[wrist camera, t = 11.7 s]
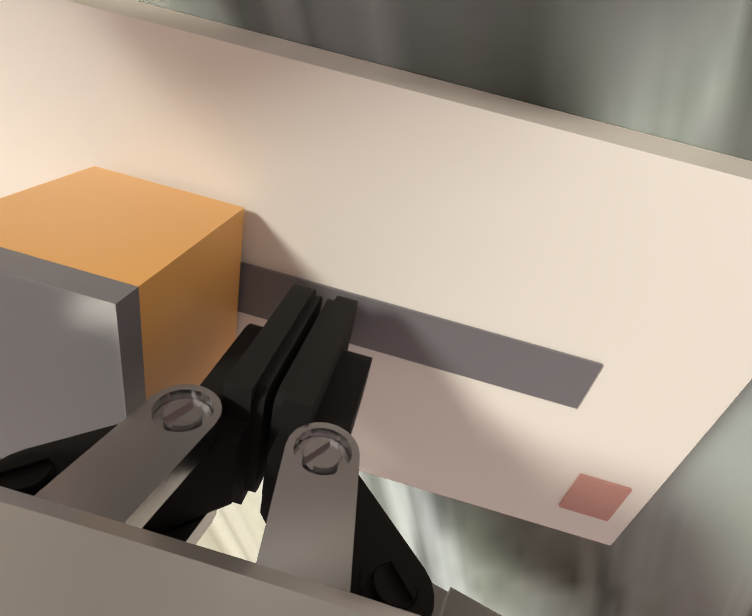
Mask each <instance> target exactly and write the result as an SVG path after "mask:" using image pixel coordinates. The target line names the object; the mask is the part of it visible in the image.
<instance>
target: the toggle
mask: <svg viewBox="0 0 752 616" xmlns="http://www.w3.org/2000/svg"><path fill="white" fill-rule="evenodd" d="M243 220H244V207H241V206H237V205H233V204H230V203H226V202H223V201H219V200H215V199H212V198H208V197H205V196H201V195H197V194H194V193H190V192H187V191H183V190H179V189H176V188H172V187H169V186H165V185H161V184H158V183H154V182H151V181H147V180H143V179H140V178H136V177H133V176H129V175H125V174H122V173H118V172H114V171H111V170H107V169H104V168H100V167H96V166H93V167H90V168H87V169H84V170H81V171H78V172H75V173H72V174H69V175H66V176H64V177H61V178H58V179H55V180H52V181H49V182H46V183H43V184H40V185H37V186H34V187H31V188H28V189H26V190H23V191H20V192H17V193H14V194H11V195H8V196H5V197H2V198H0V457H3V458H5V457H6V456H8V455H10V454H13V453H15V452H18V451H21V450H24V449H27V448H31V447H34V446H38V445H42V444H45V443H49V442H53V441H56V440H60V439H64V438H68V437H71V436H75V435H79V434H82V433H86V432H90V431H93V430H97V429H101V428H104V427H108V426H112V425H116V424H119V423H120V422H122V421H123V420H124V419H125V418H126V417H127V416H129V415H130V414H131V413H132V412H133V411H135V410H136V409H137V408H138V407H139V406H140V405H142V404H143V403H144V402H145V401H146V400H148V399H149V398H150V397H151V396H152V395H154V394H156V393H157V392H159V391H160V390H162V389H165V388H168V387H170V386H175V385H182V384H191V385H198V386H200V384H201V383H202V382H203V381H204V379H205V378H206V377H207V375H208V374H209V373H210V372H211V370H212V369H213V368H214V366H215V365H216V364H217V363H218V361H219V360H220V359H221V357H222V356H223V355H224V354H225V352H226V351H227V350H228V348H229V347H230V346H231V345H232V343H233V342H234V341H235V338H236V324H237V309H238V294H239V279H240V264H241V250H242V235H243Z"/></svg>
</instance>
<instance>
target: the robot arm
mask: <svg viewBox="0 0 752 616" xmlns="http://www.w3.org/2000/svg"><path fill="white" fill-rule="evenodd" d="M321 305H322V297H321V296H317V295H316V289H313V288H309V287H306V286H302V285H298V284H294V285H293V286H292V287H291V289H290V290H289V291H288V293H287V294H286V296H285V297H284V298H283V300H282V301H281V303H280V304H279V305H278V307H277V308H276V310H275V311H274V312H273V314H272V315H271V317H270V318H269V319H268V321H267V322H266V324H265V325H264V326H263V327H262V326H259V325H255V324H251V323H250V324H248V325H247V326H246V327H245V328H244V329H243V330H242V332H241V333H240V334H239V336H238V337H237V338H236V339H235V341H234V342H233V343H232V345H231V346H230V347H229V348H228V350H227V351H226V352H225V354H224V355H223V356H222V357H221V359H220V360H219V361H218V363H217V364H216V365H215V366H214V368H213V369H212V370H211V372H210V373H209V374H208V375H207V377H206V378H205V379H204V381H203V382H202V383H201V384H200V386H198V385H191V384H182V385H175V386H170V387H168V388H165V389H162V390H160V391H159V392H157V393H156V394H154V395H152V396H151V397H150V398H149V399H148V400H146V401H145V402H144V403H143V404H142V405H140V406H139V407H138V408H137V409H136V410H135V411H133V412H132V413H131V414H130V415H129V416H127V417H126V418H125V419H124V420H123V421H122V422H120V423H119V424H116V425H112V426H108V427H104V428H101V429H97V430H93V431H90V432H86V433H82V434H79V435H75V436H71V437H68V438H64V439H60V440H56V441H53V442H49V443H45V444H42V445H38V446H34V447H31V448H27V449H24V450H21V451H18V452H15V453H13V454H10V455H8V456H6V457H5V458H3V457H0V616H501V615H499V614H498V613H496V612H494V611H492V610H491V609H489V608H487V607H485V606H483V605H482V604H480V603H478V602H476V601H475V600H473V599H471V598H469V597H467V596H466V595H464V594H462V593H460V592H459V591H457V590H455V589H453V588H451V587H450V589H449V591H448V592H447V591H445V590H444V589H442V588H440V587H438V586H436V585H435V584H433V583H432V582H431V580H430V578H429V576H428V574H427V572H426V570H425V568H424V567H423V566H422V564H421V563H420V561H419V560H418V558H417V557H416V556H415V554H414V553H413V551H412V550H411V549H410V547H409V546H408V544H407V543H406V541H405V540H404V539H403V537H402V536H401V534H400V533H399V531H398V530H397V529H396V527H395V526H394V524H393V523H392V521H391V520H390V519H389V517H388V516H387V514H386V513H385V511H384V510H383V509H382V507H381V506H380V504H379V503H378V501H377V500H376V499H375V497H374V496H373V494H372V493H371V491H370V490H369V489H368V487H367V486H366V484H365V483H364V481H363V480H362V479H361V477H360V476H359V462H360V453H359V447H358V445H357V443H356V441H355V439H354V438H353V437H352V436H351V434H352V430H353V427H354V424H355V420H356V417H357V414H358V410H359V407H360V403H361V400H362V396H363V393H364V389H365V386H366V382H367V378H368V374H369V370H370V367H371V363H372V357H369V356H365V355H362V354H358V353H354V352H351V351H348V347H349V342H350V338H351V334H352V329H353V325H354V320H355V316H356V311H357V307H358V301H356V300H353V299H349V298H345V297H342V296H337V297H336V299H335V300H332V299H327V301H326V303H325V305H324V306H323V308H322V310H321ZM320 311H321V312H320ZM263 477H264V481H263V489H262V502H261V510H260V513H261V515H262V517H263V519H264V521H265V523H266V526H265V530H264V534H263V538H262V542H261V546H260V550H259V554H258V558H257V562H256V563H253V562H250V561H246V560H243V559H240V558H237V557H234V556H230V555H227V554H224V553H220V552H217V551H214V550H211V549H207V548H204V547H201V546H197V545H196V543H197V542H198V541H199V539H200V538H201V537H202V535H203V534H204V532H205V531H206V530H207V528H208V527H209V526H210V524H211V523H212V521H213V519H214V517H215V515H216V511H217V509H219V508H222V507H224V506H227V505H229V504H231V503H232V502H234V503H238V504H242V502H243V500H244V498H245V496H246V494H247V492H248V491H252V492H256V491H257V490H258V488H259V486H260V483H261V481H262V479H263Z"/></svg>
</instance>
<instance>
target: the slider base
mask: <svg viewBox="0 0 752 616" xmlns="http://www.w3.org/2000/svg"><path fill="white" fill-rule="evenodd" d="M93 166H96V167H100V168H104V169H107V170H111V171H114V172H118V173H122V174H125V175H129V176H133V177H136V178H140V179H143V180H147V181H151V182H154V183H158V184H161V185H165V186H169V187H172V188H176V189H179V190H183V191H187V192H190V193H194V194H197V195H201V196H205V197H208V198H212V199H215V200H219V201H223V202H226V203H230V204H233V205H237V206H241V207H244V220H243V235H242V250H241V264H240V279H239V294H238V309H237V324H236V338H237V337H238V336H239V334H240V333H241V332H242V330H243V329H244V328H245V327H246V326H247V325H248V324H250V323H251V324H255V325H259V326H262V327H263V326H264V325H265V324H266V322H267V321H268V319H269V318H270V317H271V315H272V314H273V312H274V311H275V310H276V308H277V307H278V305H279V304H280V303H281V301H282V300H283V298H284V297H285V296H286V294H287V293H288V291H289V290H290V289H291V287H292V286H293V285H294V284H298V285H302V286H306V287H309V288H313V289H316V295H317V296H321V297H322V305H321V310H322V308H323V306H324V305H325V303H326V301H327V299H332V300H335V299H336V297H337V296H342V297H345V298H349V299H353V300H356V301H358V307H357V311H356V316H355V320H354V325H353V329H352V334H351V338H350V342H349V347H348V351H351V352H354V353H358V354H362V355H365V356H369V357H372V363H371V367H370V370H369V374H368V378H367V382H366V386H365V389H364V393H363V396H362V400H361V403H360V407H359V410H358V414H357V417H356V420H355V424H354V427H353V430H352V434H351V436H352V437H353V438H354V439H355V441H356V443H357V445H358V447H359V453H360V462H359V471H363V472H366V473H369V474H373V475H376V476H380V477H383V478H386V479H390V480H393V481H396V482H400V483H403V484H406V485H410V486H413V487H416V488H420V489H423V490H426V491H430V492H433V493H436V494H440V495H443V496H446V497H450V498H453V499H456V500H460V501H463V502H466V503H470V504H473V505H476V506H480V507H483V508H486V509H490V510H493V511H496V512H500V513H503V514H506V515H510V516H513V517H516V518H520V519H523V520H526V521H530V522H533V523H536V524H540V525H543V526H546V527H550V528H553V529H556V530H560V531H563V532H566V533H570V534H573V535H576V536H580V537H583V538H586V539H590V540H593V541H597V542H600V543H603V544H607V545H610V546H611V544H612V543H613V542H614V541H615V540H616V539H617V537H618V536H619V535H620V534H621V533H622V531H623V530H624V529H625V528H626V527H627V526H628V524H629V523H630V522H631V521H632V520H633V518H634V517H635V516H636V515H637V514H638V513H639V511H640V510H641V509H642V508H643V507H644V505H645V504H646V503H647V502H648V501H649V500H650V498H651V497H652V496H653V495H654V494H655V493H656V491H657V490H658V489H659V488H660V487H661V485H662V484H663V483H664V482H665V481H666V480H667V478H668V477H669V476H670V475H671V474H672V472H673V471H674V470H675V469H676V468H677V467H678V465H679V464H680V463H681V462H682V461H683V459H684V458H685V457H686V456H687V455H688V454H689V452H690V451H691V450H692V449H693V448H694V446H695V445H696V444H697V443H698V442H699V441H700V439H701V438H702V437H703V436H704V435H705V433H706V432H707V431H708V430H709V429H710V428H711V426H712V425H713V424H714V423H715V422H716V420H717V419H718V418H719V417H720V416H721V415H722V413H723V412H724V411H725V410H726V409H727V407H728V406H729V405H730V404H731V403H732V402H733V400H734V399H735V398H736V397H737V396H738V394H739V393H740V392H741V391H742V390H743V389H744V387H745V386H746V385H747V384H748V383H749V381H750V380H751V379H752V161H749V160H745V159H741V158H737V157H734V156H730V155H726V154H722V153H718V152H714V151H711V150H707V149H703V148H699V147H695V146H691V145H688V144H684V143H680V142H676V141H672V140H668V139H664V138H661V137H657V136H653V135H649V134H645V133H641V132H638V131H634V130H630V129H626V128H622V127H618V126H615V125H611V124H607V123H603V122H599V121H595V120H591V119H588V118H584V117H580V116H576V115H572V114H568V113H565V112H561V111H557V110H553V109H549V108H545V107H542V106H538V105H534V104H530V103H526V102H522V101H519V100H515V99H511V98H507V97H503V96H499V95H495V94H492V93H488V92H484V91H480V90H476V89H472V88H469V87H465V86H461V85H457V84H453V83H449V82H446V81H442V80H438V79H434V78H430V77H426V76H423V75H419V74H415V73H411V72H407V71H403V70H399V69H396V68H392V67H388V66H384V65H380V64H376V63H373V62H369V61H365V60H361V59H357V58H353V57H350V56H346V55H342V54H338V53H334V52H330V51H327V50H323V49H319V48H315V47H311V46H307V45H303V44H300V43H296V42H292V41H288V40H284V39H280V38H277V37H273V36H269V35H265V34H261V33H257V32H254V31H250V30H246V29H242V28H238V27H234V26H231V25H227V24H223V23H219V22H215V21H211V20H207V19H204V18H200V17H196V16H192V15H188V14H184V13H181V12H177V11H173V10H169V9H165V8H161V7H158V6H154V5H150V4H146V3H142V2H138V1H135V0H0V198H2V197H5V196H8V195H11V194H14V193H17V192H20V191H23V190H26V189H28V188H31V187H34V186H37V185H40V184H43V183H46V182H49V181H52V180H55V179H58V178H61V177H64V176H66V175H69V174H72V173H75V172H78V171H81V170H84V169H87V168H90V167H93ZM320 312H321V311H320ZM236 338H235V339H236Z"/></svg>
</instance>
